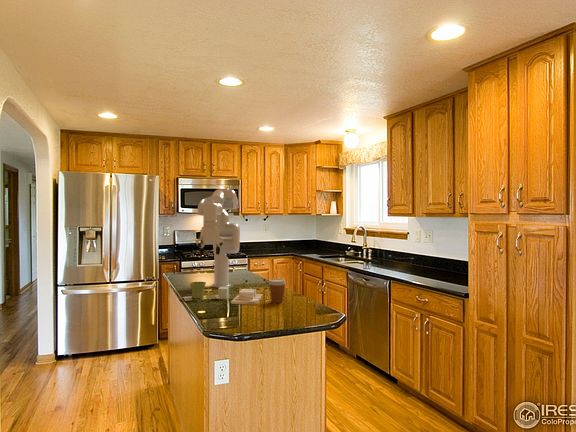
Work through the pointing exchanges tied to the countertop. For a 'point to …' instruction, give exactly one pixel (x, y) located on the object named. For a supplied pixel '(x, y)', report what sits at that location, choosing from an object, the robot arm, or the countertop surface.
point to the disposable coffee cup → (277, 290)
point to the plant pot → (197, 289)
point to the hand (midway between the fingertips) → (209, 254)
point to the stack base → (248, 301)
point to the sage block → (223, 292)
